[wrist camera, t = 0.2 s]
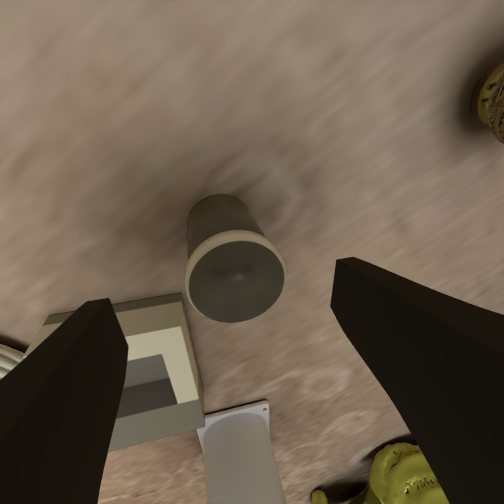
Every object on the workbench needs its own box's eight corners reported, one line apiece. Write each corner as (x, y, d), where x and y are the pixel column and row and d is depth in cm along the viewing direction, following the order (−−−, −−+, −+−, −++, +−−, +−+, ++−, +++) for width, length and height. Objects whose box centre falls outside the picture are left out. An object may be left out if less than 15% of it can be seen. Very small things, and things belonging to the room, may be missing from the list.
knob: (255, 250, 19) (286, 314, 14) (190, 260, 19) (194, 333, 13) (252, 188, 17) (288, 232, 11) (178, 196, 16) (176, 248, 10)
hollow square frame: (203, 389, 26) (205, 426, 23) (104, 412, 24) (93, 455, 21) (181, 292, 20) (180, 326, 17) (49, 315, 18) (22, 356, 15)
